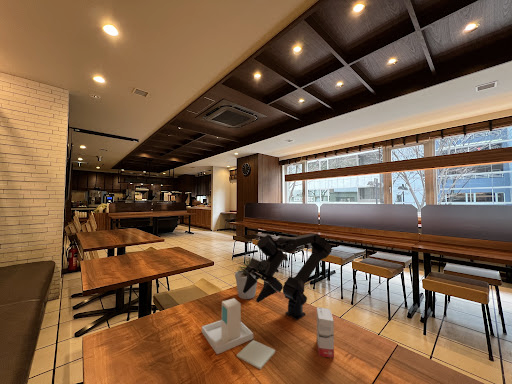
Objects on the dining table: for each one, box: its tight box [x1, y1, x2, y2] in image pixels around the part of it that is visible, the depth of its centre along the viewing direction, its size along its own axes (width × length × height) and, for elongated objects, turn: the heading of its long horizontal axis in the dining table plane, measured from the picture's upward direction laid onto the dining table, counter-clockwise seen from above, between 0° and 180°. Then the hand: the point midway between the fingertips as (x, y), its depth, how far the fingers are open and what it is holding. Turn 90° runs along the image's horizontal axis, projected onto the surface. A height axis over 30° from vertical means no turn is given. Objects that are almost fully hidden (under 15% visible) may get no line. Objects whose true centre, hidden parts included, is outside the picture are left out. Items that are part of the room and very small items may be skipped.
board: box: [236, 339, 276, 370], centre depth 69 cm, size 9×9×1 cm
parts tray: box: [201, 319, 254, 355], centre depth 78 cm, size 14×14×2 cm
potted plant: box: [234, 257, 258, 300], centre depth 112 cm, size 13×14×20 cm
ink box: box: [316, 307, 335, 359], centre depth 73 cm, size 9×5×12 cm, turn 168°
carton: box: [221, 297, 242, 343], centre depth 76 cm, size 5×5×13 cm
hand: (249, 297), depth 81 cm, fingers open, 9 cm apart
